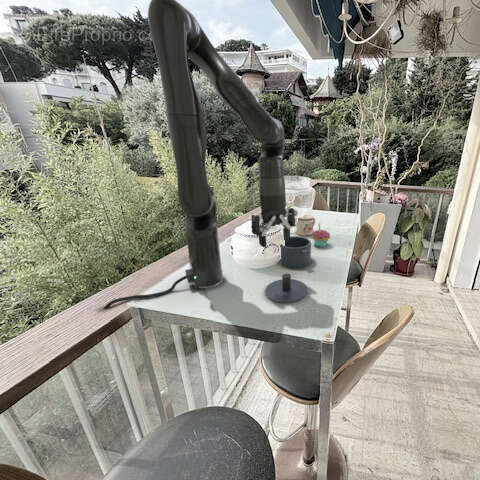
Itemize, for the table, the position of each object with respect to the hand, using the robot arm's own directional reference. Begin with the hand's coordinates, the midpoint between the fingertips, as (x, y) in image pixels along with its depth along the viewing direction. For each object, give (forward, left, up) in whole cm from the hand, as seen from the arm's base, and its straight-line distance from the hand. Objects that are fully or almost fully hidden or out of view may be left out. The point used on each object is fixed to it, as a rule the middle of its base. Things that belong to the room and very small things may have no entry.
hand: (275, 243), depth 84 cm
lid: (+1, -5, -15) cm, 16 cm away
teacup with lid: (+36, +42, -16) cm, 57 cm away
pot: (+14, +14, -16) cm, 25 cm away
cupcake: (+33, +24, -16) cm, 44 cm away
